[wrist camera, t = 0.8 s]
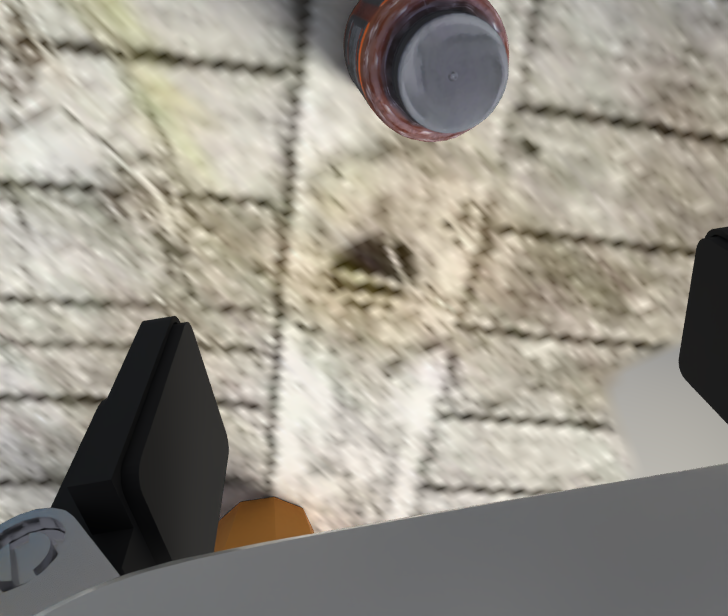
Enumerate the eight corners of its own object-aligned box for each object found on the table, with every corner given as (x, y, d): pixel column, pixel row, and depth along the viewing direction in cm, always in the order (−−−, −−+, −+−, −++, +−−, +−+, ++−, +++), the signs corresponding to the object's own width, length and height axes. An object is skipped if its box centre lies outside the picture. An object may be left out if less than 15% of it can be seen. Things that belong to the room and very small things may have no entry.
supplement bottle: (374, 125, 32) (410, 191, 22) (320, 17, 29) (334, 38, 20) (474, 69, 31) (558, 113, 22) (429, -47, 29) (501, -59, 19)
